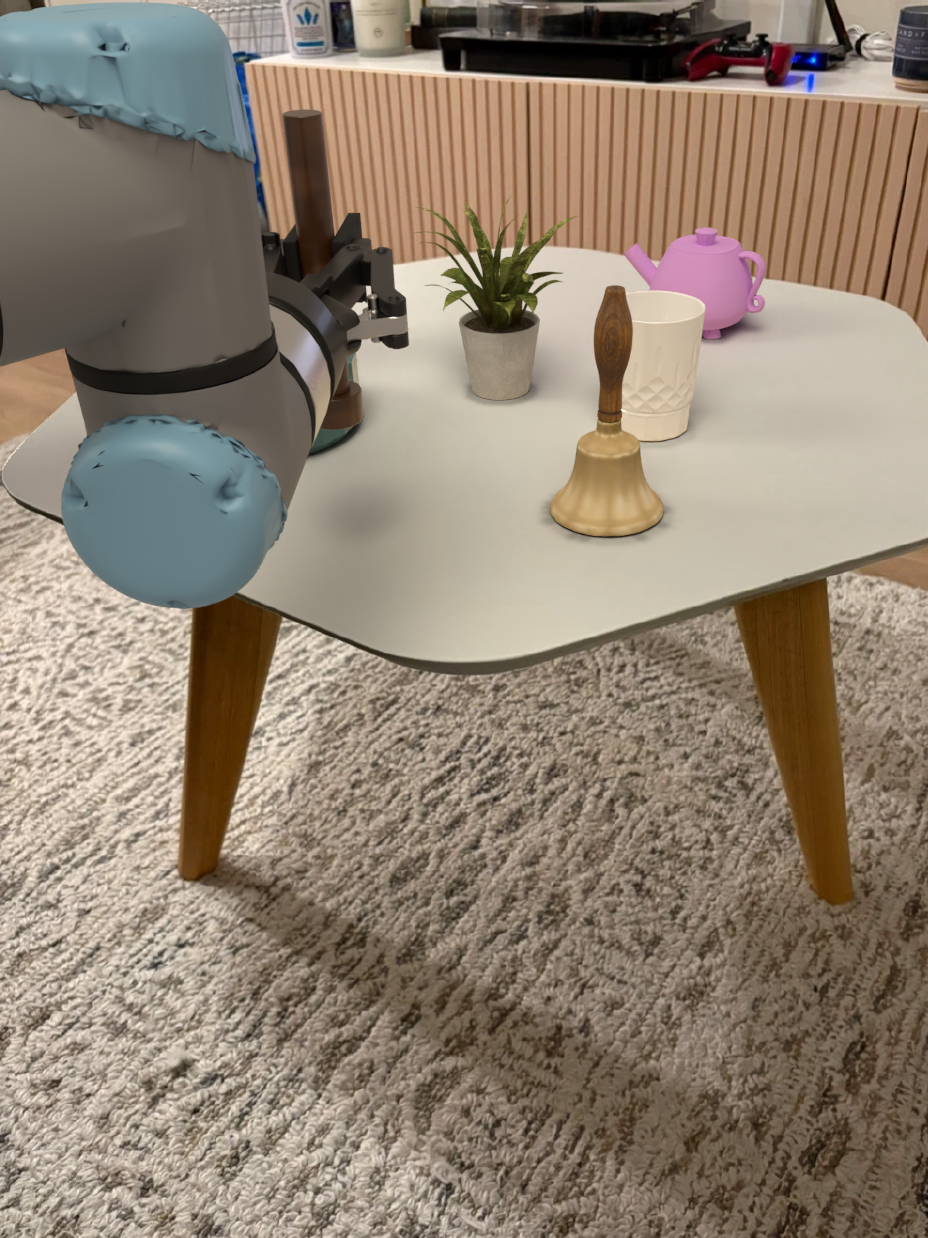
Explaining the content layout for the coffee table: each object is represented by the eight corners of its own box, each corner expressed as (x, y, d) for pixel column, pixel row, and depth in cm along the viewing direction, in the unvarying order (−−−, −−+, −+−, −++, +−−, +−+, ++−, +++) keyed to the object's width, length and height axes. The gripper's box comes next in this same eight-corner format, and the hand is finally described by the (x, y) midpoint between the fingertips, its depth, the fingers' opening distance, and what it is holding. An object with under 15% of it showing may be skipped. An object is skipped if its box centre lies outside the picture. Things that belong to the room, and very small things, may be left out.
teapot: (743, 351, 106) (755, 251, 100) (601, 328, 111) (604, 232, 106) (777, 319, 113) (789, 223, 107) (641, 298, 119) (646, 207, 113)
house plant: (378, 404, 97) (360, 208, 87) (450, 352, 107) (441, 171, 97) (526, 431, 92) (525, 226, 82) (587, 373, 102) (592, 184, 92)
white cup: (663, 453, 88) (673, 329, 82) (582, 430, 92) (585, 309, 86) (712, 420, 93) (723, 301, 87) (632, 399, 97) (638, 283, 91)
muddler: (303, 430, 70) (263, 119, 60) (313, 407, 73) (276, 106, 62) (359, 430, 70) (329, 118, 59) (367, 407, 73) (339, 106, 62)
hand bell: (531, 497, 82) (530, 280, 73) (628, 475, 85) (640, 263, 75) (581, 547, 76) (587, 317, 67) (685, 522, 79) (705, 297, 69)
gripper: (109, 448, 54) (225, 294, 73) (420, 450, 53) (455, 294, 72) (71, 294, 49) (204, 172, 68) (410, 293, 49) (450, 170, 68)
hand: (333, 235), depth 70 cm, fingers closed on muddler, 2 cm apart
